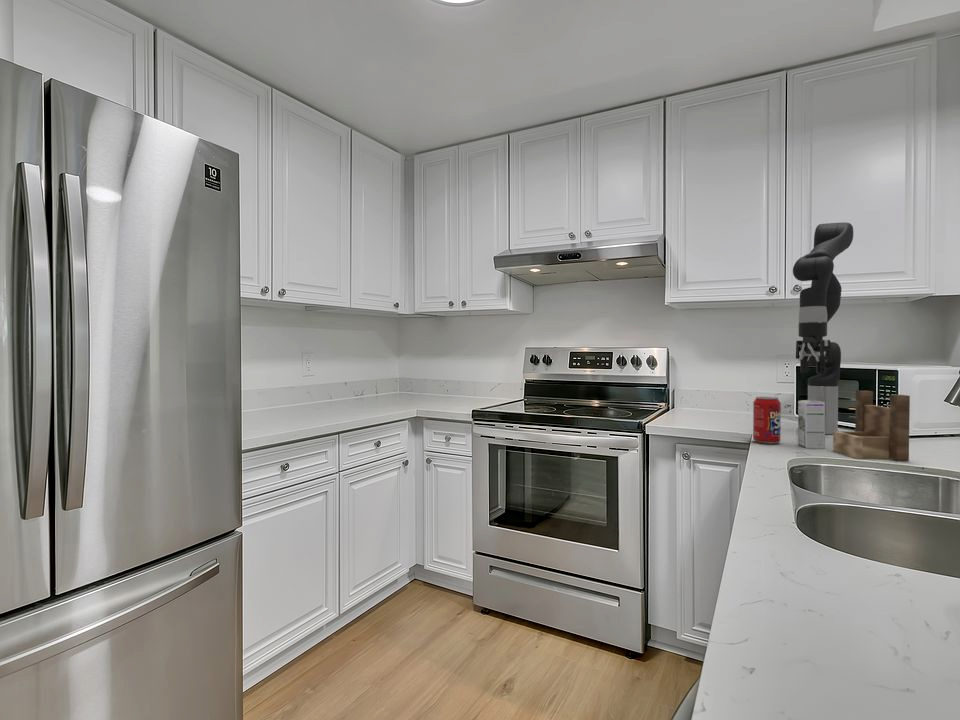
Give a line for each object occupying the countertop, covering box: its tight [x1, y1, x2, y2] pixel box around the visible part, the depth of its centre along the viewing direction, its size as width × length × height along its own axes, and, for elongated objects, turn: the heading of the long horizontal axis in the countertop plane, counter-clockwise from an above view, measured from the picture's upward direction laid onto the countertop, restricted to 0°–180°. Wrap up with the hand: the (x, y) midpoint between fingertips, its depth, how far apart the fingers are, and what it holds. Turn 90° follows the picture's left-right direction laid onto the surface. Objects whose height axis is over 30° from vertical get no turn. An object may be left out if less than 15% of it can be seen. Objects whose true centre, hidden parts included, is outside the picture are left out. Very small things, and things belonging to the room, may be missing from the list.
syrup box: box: [797, 399, 826, 450], centre depth 160 cm, size 6×6×14 cm
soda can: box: [752, 396, 782, 445], centre depth 168 cm, size 8×8×15 cm
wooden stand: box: [832, 390, 911, 462], centre depth 148 cm, size 17×12×18 cm
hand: (812, 373), depth 160 cm, fingers open, 8 cm apart
